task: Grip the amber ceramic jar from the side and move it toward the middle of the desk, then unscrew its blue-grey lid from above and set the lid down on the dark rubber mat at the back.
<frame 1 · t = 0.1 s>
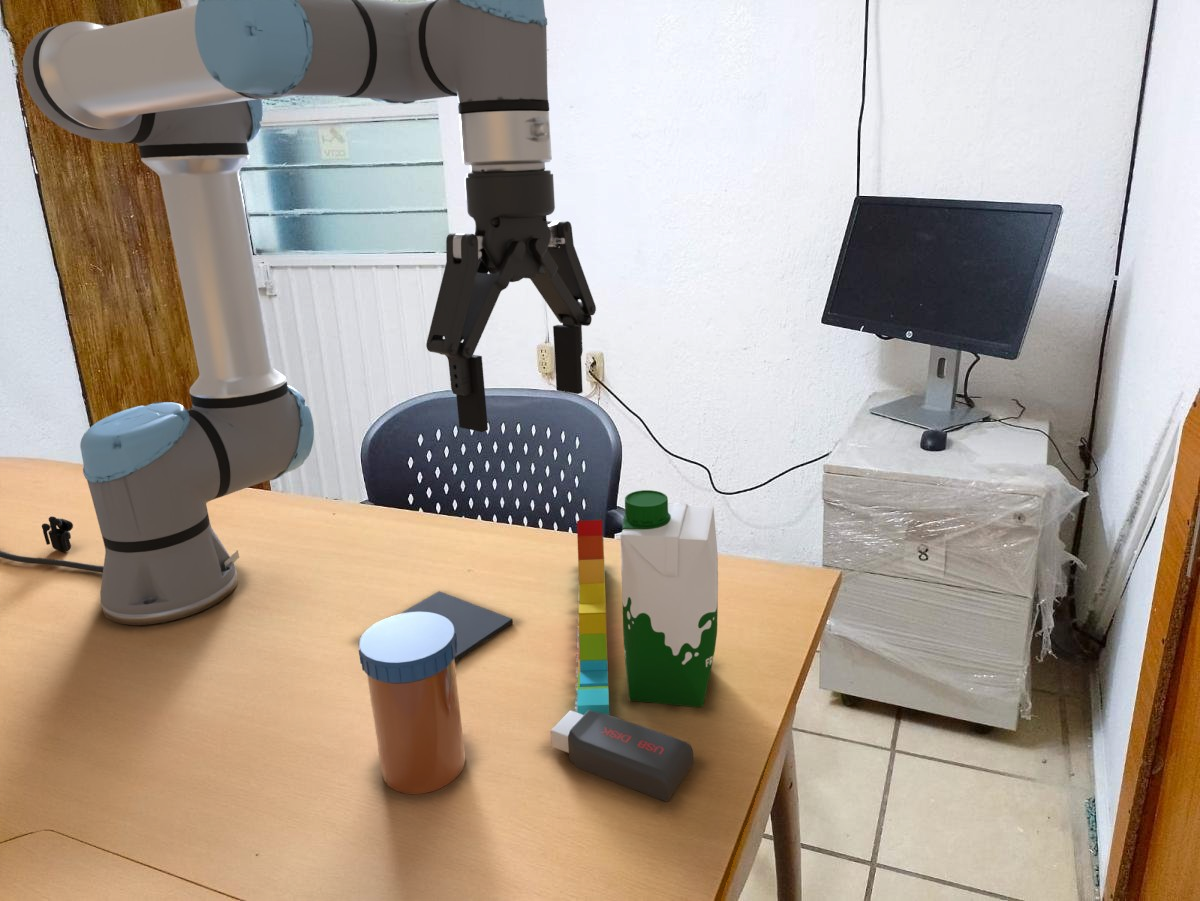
hand: (524, 409, 77), 28 cm above the table, tool pointing down, fingers open, 13 cm apart
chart: (592, 636, 92), on the table
usb drive: (619, 761, 73), on the table
lid: (407, 640, 69), point 13 cm above the table, screwed on, not yet turned
mat: (437, 631, 93), on the table
milk carton: (670, 684, 83), on the table
jar: (424, 764, 73), on the table
wireless earbuds: (66, 550, 118), on the table
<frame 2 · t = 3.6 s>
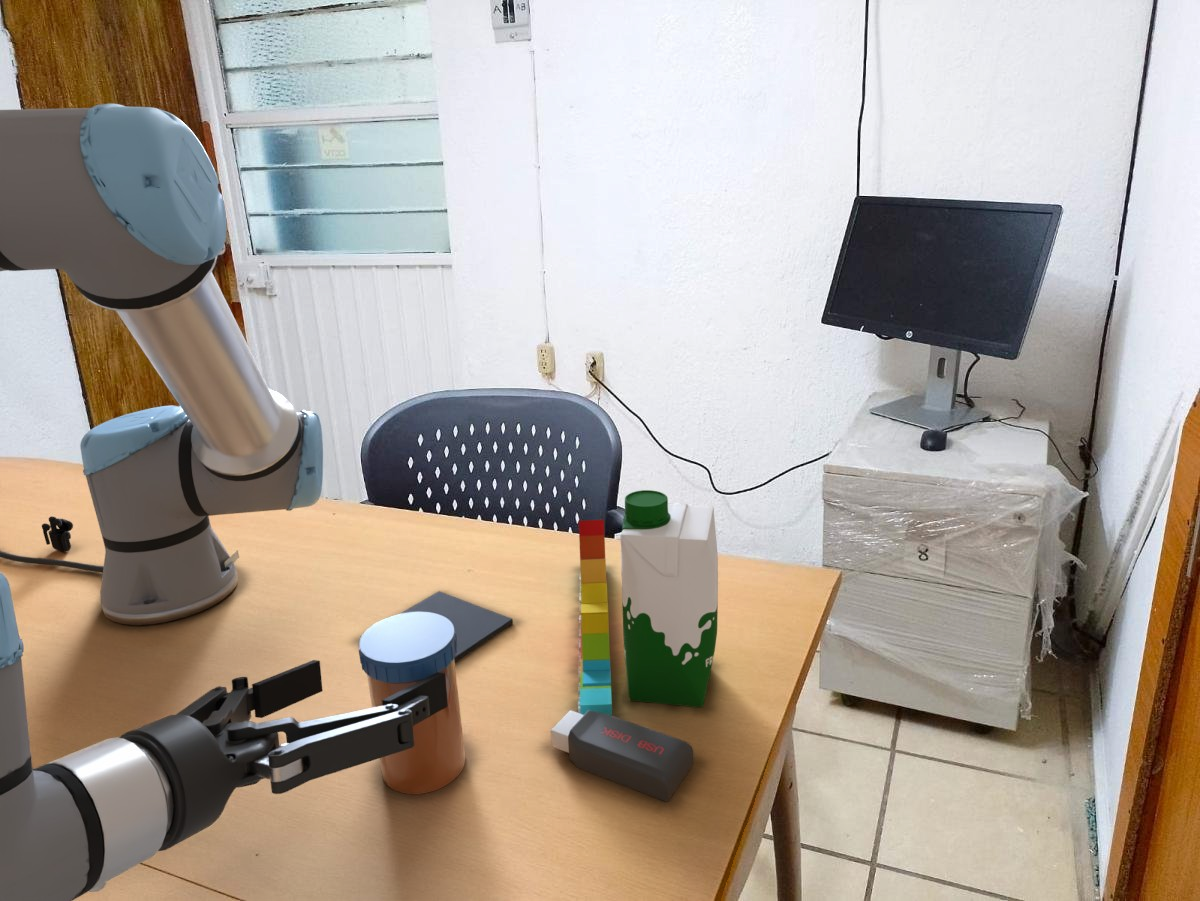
hand: (378, 681, 69), 9 cm above the table, tool horizontal, fingers open, 13 cm apart
nothing on the table moved.
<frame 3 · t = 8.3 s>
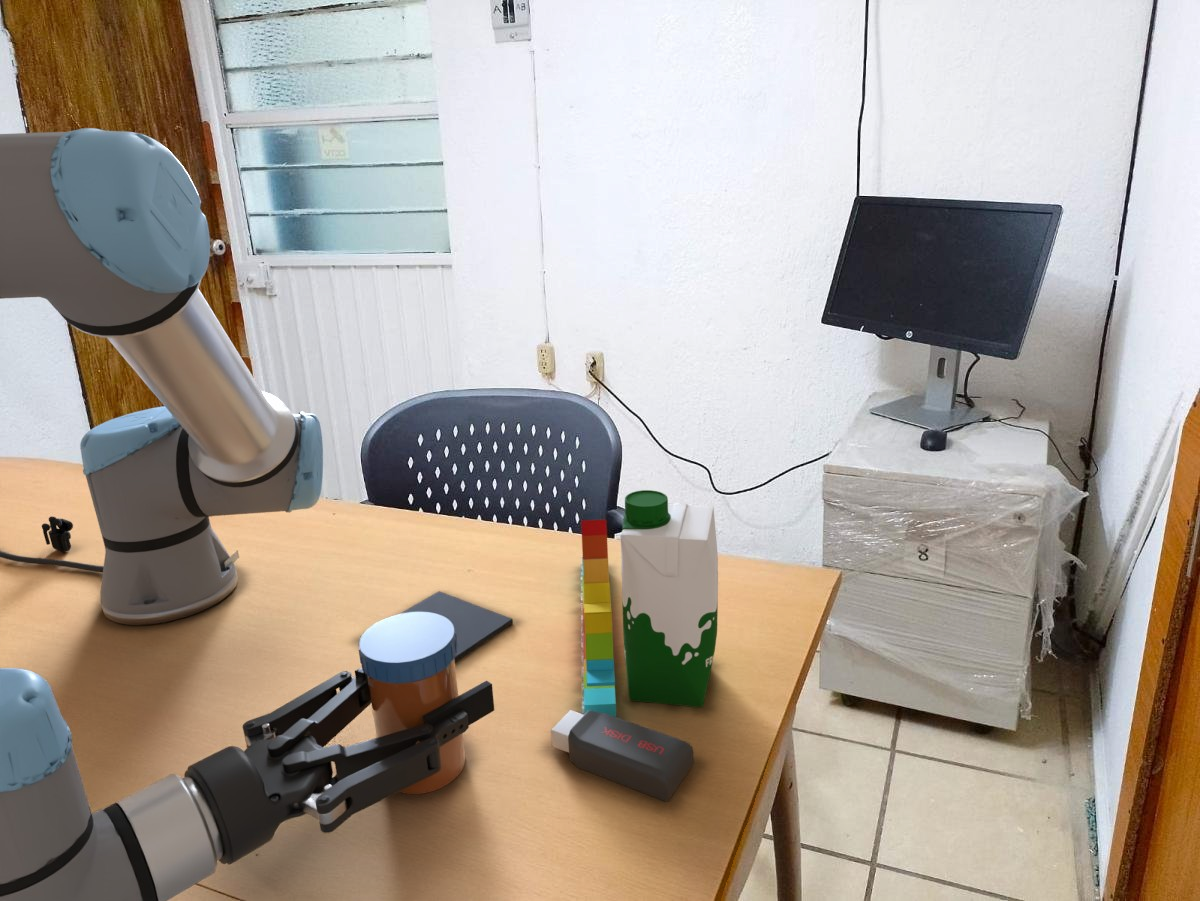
hand: (462, 677, 74), 6 cm above the table, tool horizontal, fingers closed on jar, 7 cm apart
jar: (424, 764, 73), on the table, touching gripper
everything else where it was.
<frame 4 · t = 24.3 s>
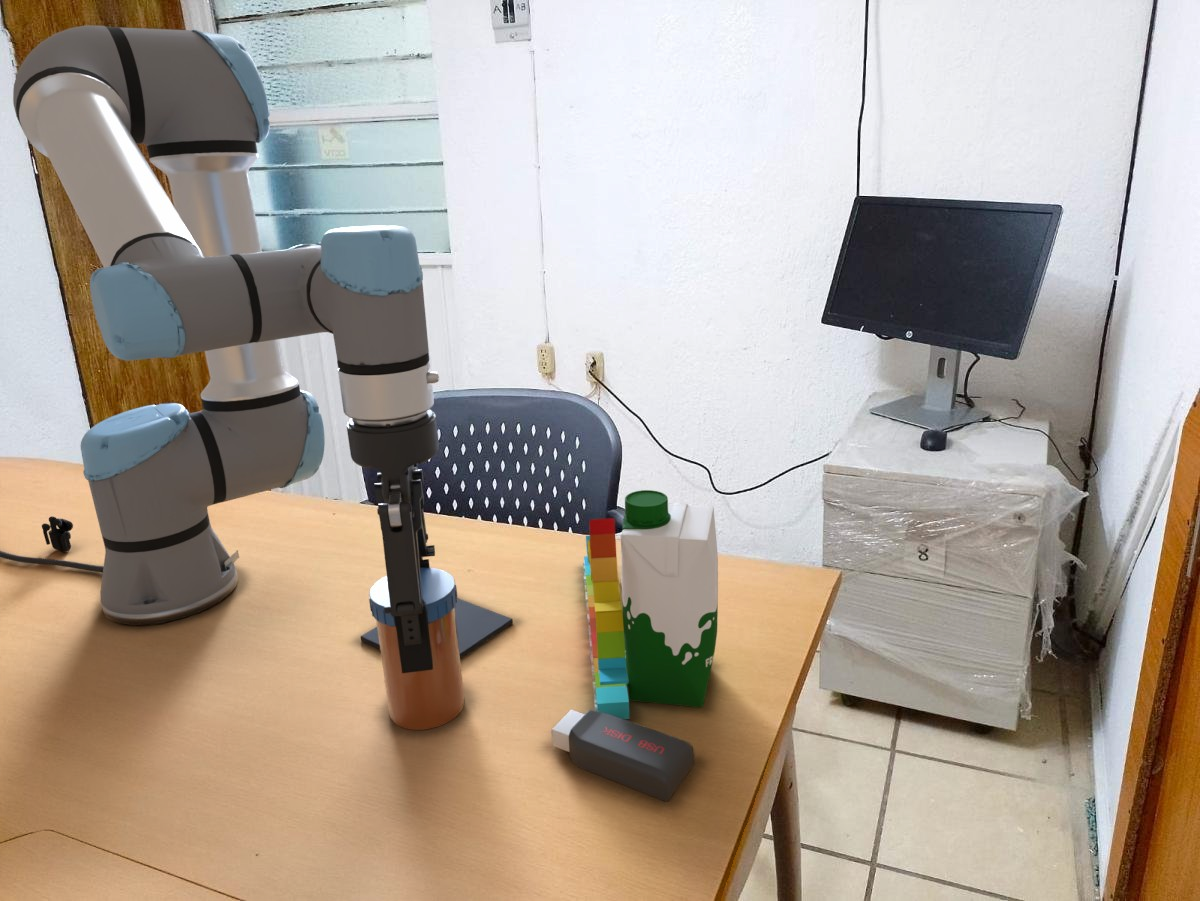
hand: (419, 643, 78), 7 cm above the table, tool pointing down, fingers closed on lid, 8 cm apart
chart: (602, 634, 92), on the table, touching milk carton
lid: (412, 590, 77), point 13 cm above the table, screwed on, not yet turned, touching gripper
milk carton: (670, 684, 83), on the table, touching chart
jar: (427, 706, 81), on the table
everything else where it was.
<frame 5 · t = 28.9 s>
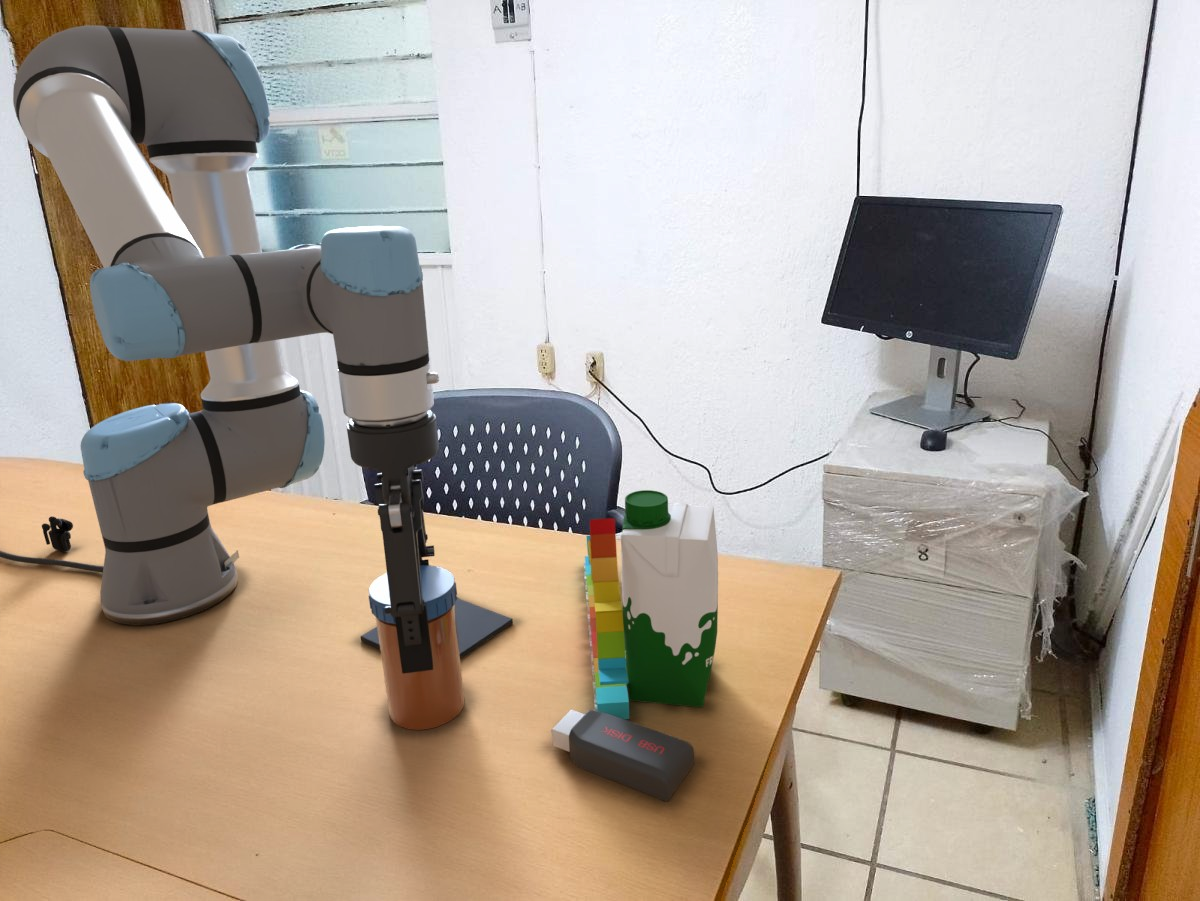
hand: (419, 643, 78), 7 cm above the table, tool pointing down, fingers closed on lid, 8 cm apart
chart: (602, 634, 92), on the table
lid: (412, 588, 76), point 13 cm above the table, turned 89° so far, risen 0.2 cm, still on its thread, touching gripper
milk carton: (670, 685, 83), on the table
everything else where it was.
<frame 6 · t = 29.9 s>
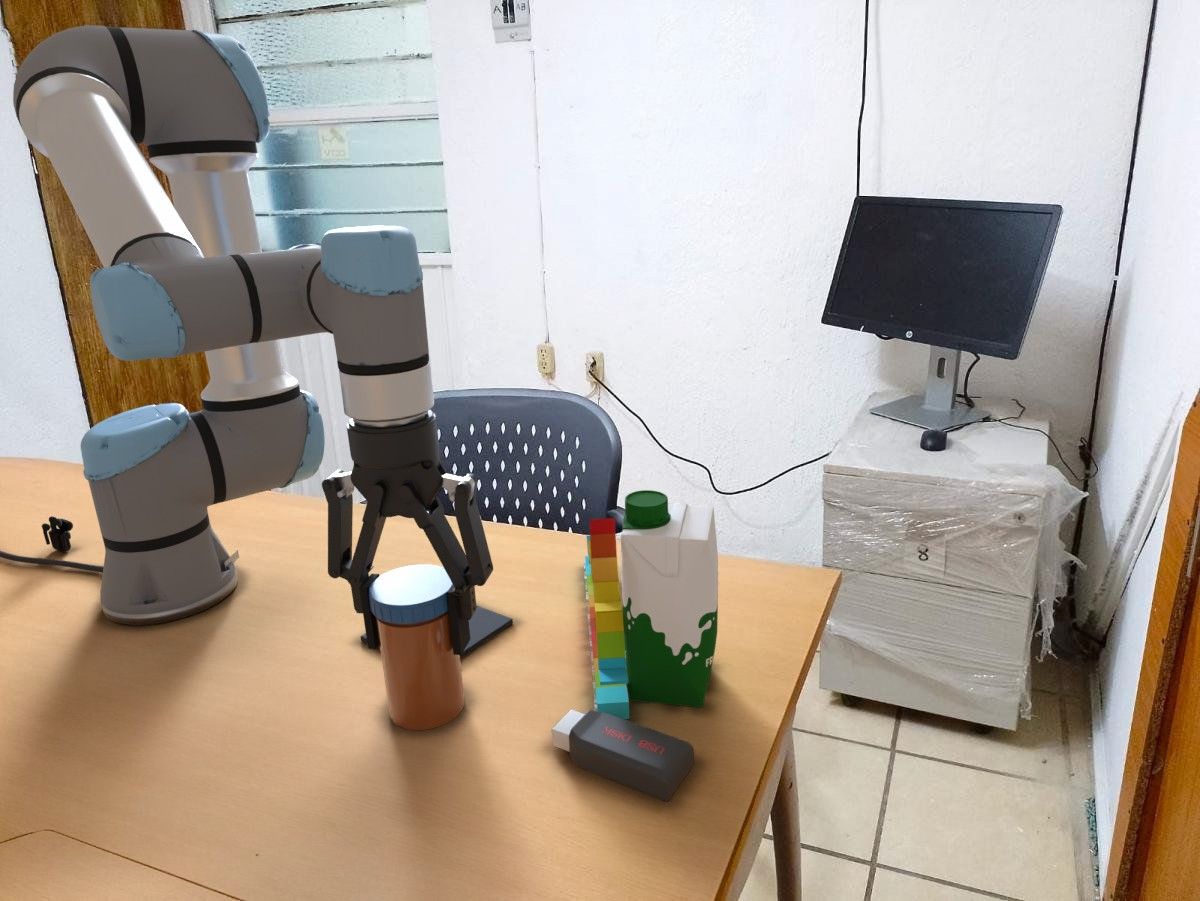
hand: (419, 643, 78), 7 cm above the table, tool pointing down, fingers closed on lid, 8 cm apart
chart: (602, 634, 92), on the table, touching milk carton
lid: (412, 587, 76), point 13 cm above the table, off its thread, touching gripper
milk carton: (670, 685, 83), on the table, touching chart
everything else where it was.
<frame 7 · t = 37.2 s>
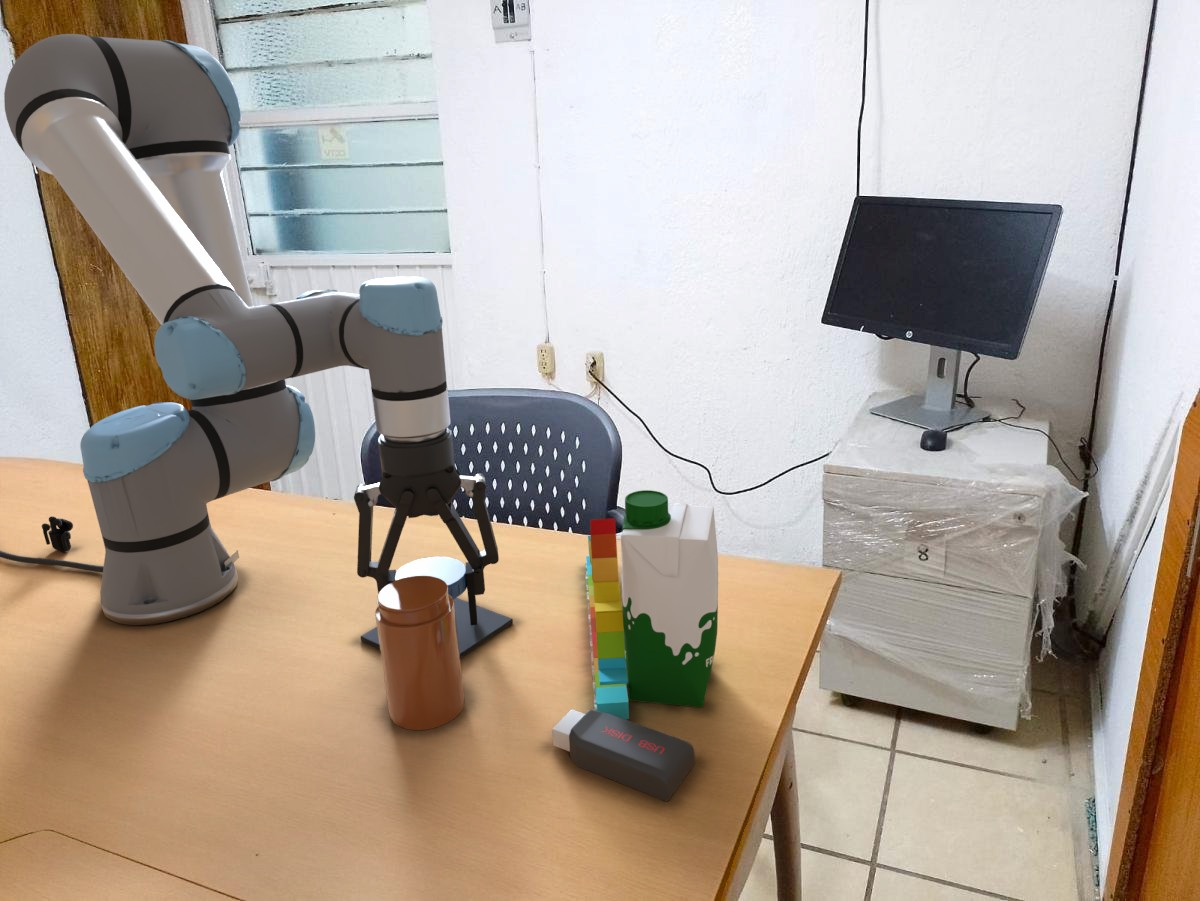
hand: (436, 622, 93), 1 cm above the table, tool pointing down, fingers closed on lid, 8 cm apart
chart: (603, 634, 92), on the table
lid: (430, 575, 91), point 7 cm above the table, off its thread, touching gripper
milk carton: (670, 685, 83), on the table
everything else where it was.
when the fingers open (3 cm above the table, at t = 46.6 s): lid drops 6 cm, resting on mat.
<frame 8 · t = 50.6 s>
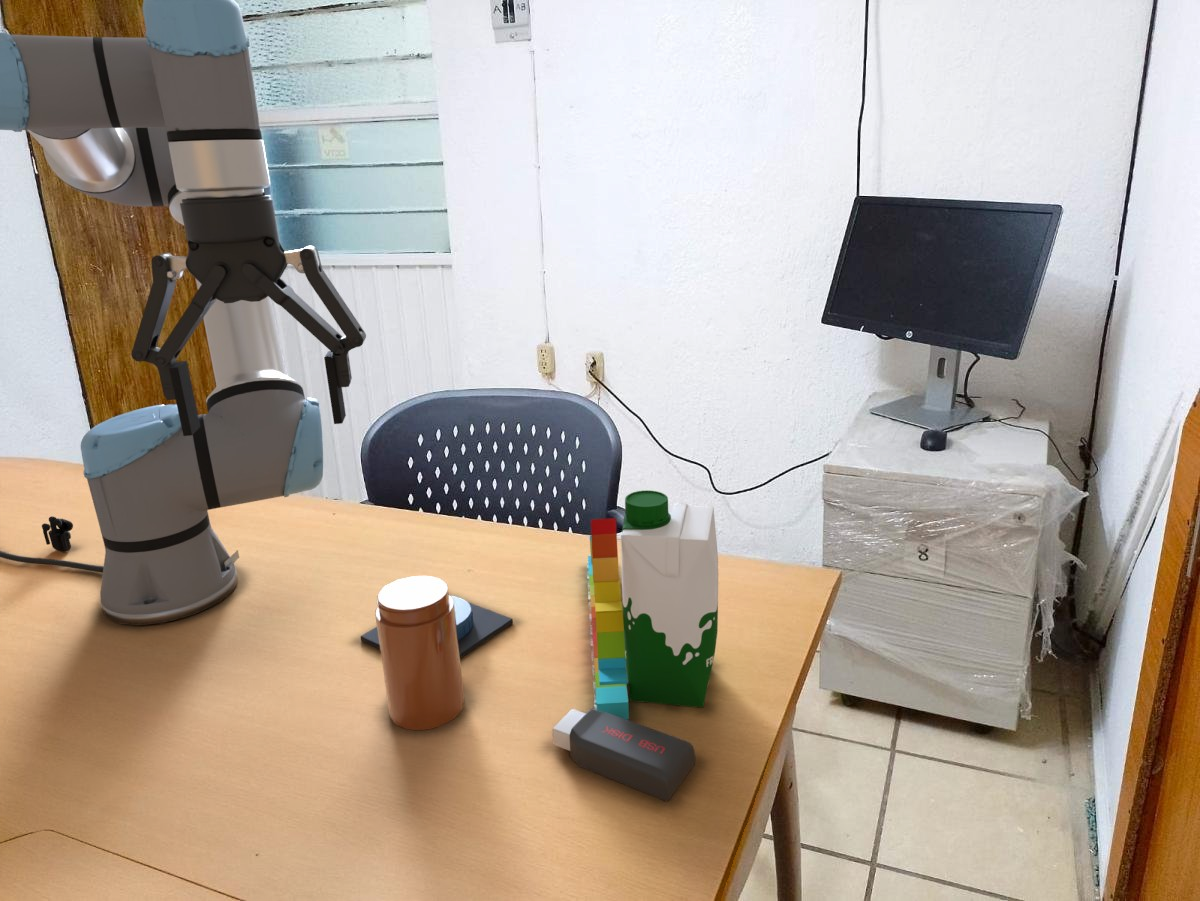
hand: (267, 425, 79), 27 cm above the table, tool pointing down, fingers open, 13 cm apart
lid: (436, 615, 93), point 2 cm above the table, off its thread, touching mat
everything else where it was.
at the end: jar inside the target area (0.1 cm from its centre), on the table; lid inside the target area on the mat (0.1 cm from its centre), point 2.1 cm above the mat's base; the gripper is holding nothing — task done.
